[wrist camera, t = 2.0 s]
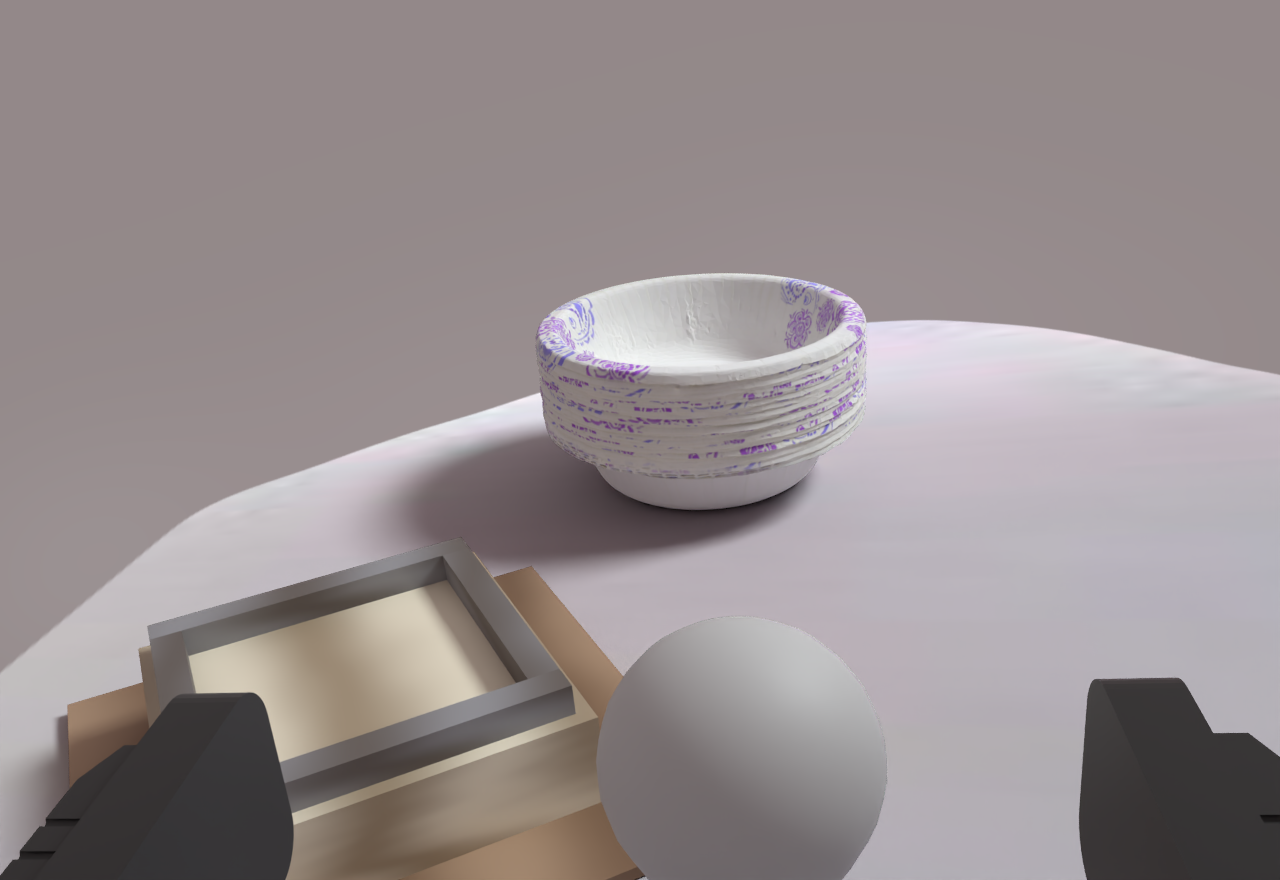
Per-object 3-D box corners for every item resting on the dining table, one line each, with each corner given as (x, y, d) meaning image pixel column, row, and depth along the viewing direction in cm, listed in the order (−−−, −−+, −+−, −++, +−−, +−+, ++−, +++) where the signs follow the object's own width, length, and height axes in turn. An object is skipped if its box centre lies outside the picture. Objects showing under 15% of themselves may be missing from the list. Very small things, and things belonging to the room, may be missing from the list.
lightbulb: (633, 939, 32) (588, 574, 27) (867, 924, 31) (858, 554, 27) (630, 1158, 26) (572, 744, 22) (914, 1143, 26) (913, 720, 21)
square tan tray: (532, 574, 50) (518, 479, 48) (745, 833, 35) (736, 708, 33) (70, 714, 44) (35, 610, 42) (82, 1106, 28) (28, 968, 27)
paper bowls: (937, 467, 56) (938, 303, 53) (676, 582, 49) (659, 399, 45) (733, 388, 68) (724, 250, 65) (497, 470, 60) (474, 320, 57)
